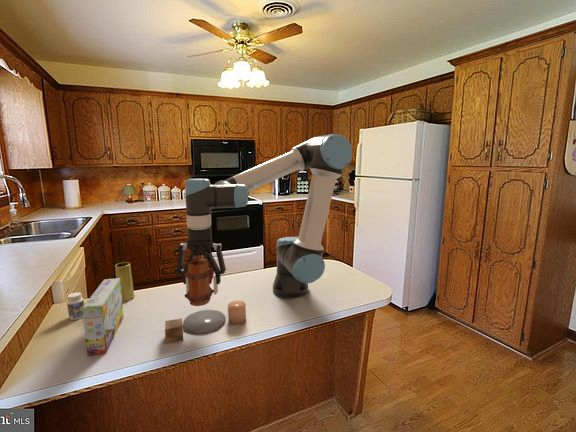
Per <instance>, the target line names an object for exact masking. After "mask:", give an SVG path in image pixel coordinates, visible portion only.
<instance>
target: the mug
mask: <svg viewBox="0 0 576 432" xmlns="http://www.w3.org/2000/svg"><path fill="white" fill-rule="evenodd" d="M201 256H202V255H201ZM214 274H215V273H214V271H213V269H212V267H211V265H210V263H209V261H208V259H207V258H206V257H205V256H202V257H201V258H199V259H193V260H192V262H189V263H188V270H187V271H186V273H184V276H186V277H187V278H188V282H189V291H188V292H186V293H185V294H184V298H186V299H187V300H188V301H189V305H190V306H194V307H202V306H206V305H208V304H209V303H210V301H211V298H212V296H213V294H214V288H212V287H211V284H213V283H212V282H213V276H214Z"/></svg>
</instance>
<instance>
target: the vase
mask: <svg viewBox="0 0 576 432" xmlns="http://www.w3.org/2000/svg"><path fill="white" fill-rule="evenodd" d="M131 267H132V266H131V262H127V261H124V262H123V261H122V262H119V263H116V264H115V265H114V269H115V278H120V282H121V294H122V303H123V302H129V301H131V300H133V299H134V298H135V292H134V283H133V276H132V268H131Z"/></svg>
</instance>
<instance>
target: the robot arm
mask: <svg viewBox="0 0 576 432" xmlns="http://www.w3.org/2000/svg"><path fill="white" fill-rule="evenodd" d="M352 158H353V147H352V144H351V143H350V141H349V140H348V138H347V137H345V136H344V135H342V134H339V133H335V134H334V133H329V134H325V135H324V134H323V135H318V136H317V135H316V136H314V137H311V138H310V139H308V140H306V141H304V142H302V143H300V144H298V145H296V146H294V147H292V148H291V149H290V151H289V152H287V153H285V154H284V153H283V154H282V155H280V156H278V157H275V158H273V159H270V160H268V161H266V162H263V163H262V164H261V163H260V164H258V165H257V166H254V167H252V168H250V169H247V170H244V171H242V172H241V173H237V174H236V175H233V176H231V177H228V178H226V179H224V180H219V181H217V182H215V183H214V184H211V182H210V179H208V178H189V179H187V180H186V181H185V185H184V186H185V187H184V189H185V191H184V192H185V193H184V194H185V195H184V196H185V213H186V227H187V229H186V231H187V242H186V243H184V242H181V243H180V244H178V246H177V248H178V258H177V266H176V274H178V275H179V274H180V275H182V284H183V285H185V289H186V291H185V292H186V293H187V292H188V291H189V282H188V278H187V277H186V276H184V273H186V271H187V270H188V263H189V262H192V260H195V256H196V257H199V256H205V257H206V258H207V259H208V261H209V263H210V265H211V267H212V269H213V271H214V274H213V279H212V282H213V283H212V284H213V290H214V292H213V295H217V294H218V292H219V285H220V284H221V282H222V280H221V275H223V274H225V272H226V271H227V268H226V263H225V260H224V259H225V258H224V255H223V252H222V247H223V244H222V243H221V242H220V243H214V241H213V233H212V232H213V231H212V213H211V212H212V211H211V210H212V209H221V208H222V209H225V208H229V209H230V208H235V209H237V208H244V207H247V205H248V203H249V192H252V191H254V190H256V189H258V188H260V187H262V186H265V185H266V184H269V183H273V182H274V181H277V180H278V179H281V178H283V177H285V176H287V175H289V174H292V173H293V172H296V171H301V172H302V171H303V172H304V171H305V170H307V169H309V170H310V172H311V174H312V176H311V180H310V184H309V185H310V186H309V189H308V194H307V199H306V203H305V207H304V212H303V216H302V220H301V224H300V229H299V234H298V236H286V237H280V238H279V239H277V241H276V246H275V248H276V274H275V277H274V281H273V284H272V292H273V294H274V295H276V296H278V297H281V298H287V299H295V298H300V297H304V296H305V295H307V294H308V292H309V284H312V283H314V282H316V281H317V280H319V279H320V278H321V277H322V276H323V274H324V273H325V268H326V263H325V260H324V258H323V254H324V249H325V248H324V245H322V240H323V235H324V232H325V229H326V222H327V218H328V215H329V210H330V207H331V202H332V198H333V193H334V189H335V186H336V181H337V179H339V178H341V177H342V174H343V171H344V168H345V167H347V166H348V165H349V164H350V163H351V161H352ZM212 248H213V249H214V251H215V253H216V254H215V255H216V257H217V261H218V263H217V261H216V259H215V258H214V256H213V252H212ZM187 249H189V250H190V254H189V257H188V259H187V261H186V264H185V263H184V261H185V255H186V250H187ZM184 264H185V266H184Z"/></svg>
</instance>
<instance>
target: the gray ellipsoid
mask: <svg viewBox="0 0 576 432" xmlns="http://www.w3.org/2000/svg"><path fill="white" fill-rule="evenodd" d="M225 323H226V315H225V314H224V313H223V312H222V311H219V310H214V309H202V310H199V311H195V312H192V313H191V314H189V315H187V316H186V317H185V318H184V320H182V324H183V330H184V331H186V332H187V333H190V334H193V335H194V334H195V335H203V334H204V335H205V334H209V333H212V332H216V331H217V330H219V329H220V328H222V327H224V325H225Z"/></svg>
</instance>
